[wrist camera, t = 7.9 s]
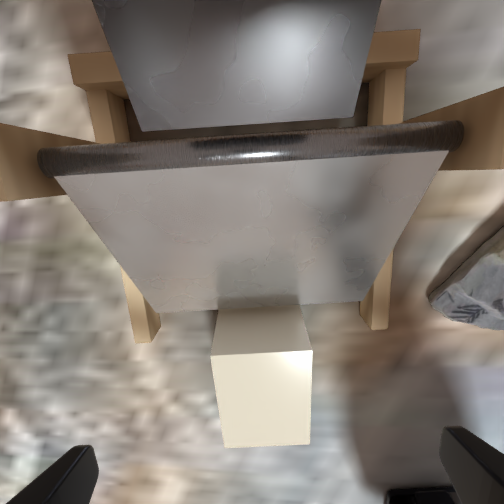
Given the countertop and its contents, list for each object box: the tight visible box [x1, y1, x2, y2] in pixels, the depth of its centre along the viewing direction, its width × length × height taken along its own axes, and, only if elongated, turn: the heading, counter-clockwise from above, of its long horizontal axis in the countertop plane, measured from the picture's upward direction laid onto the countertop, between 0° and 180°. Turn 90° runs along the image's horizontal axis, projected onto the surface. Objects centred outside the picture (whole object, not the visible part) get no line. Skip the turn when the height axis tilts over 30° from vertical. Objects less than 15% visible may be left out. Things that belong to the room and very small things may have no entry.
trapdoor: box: [37, 0, 464, 313], centre depth 11 cm, size 14×12×2 cm
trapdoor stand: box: [0, 29, 504, 343], centre depth 13 cm, size 16×16×10 cm
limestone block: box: [210, 305, 312, 448], centre depth 18 cm, size 5×5×7 cm
